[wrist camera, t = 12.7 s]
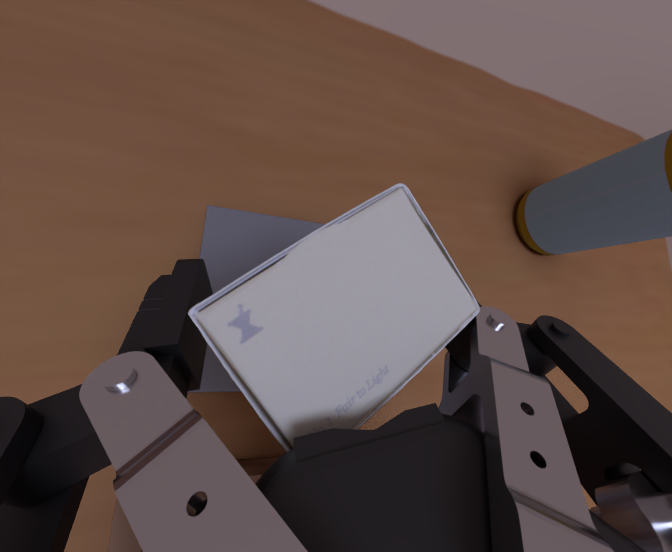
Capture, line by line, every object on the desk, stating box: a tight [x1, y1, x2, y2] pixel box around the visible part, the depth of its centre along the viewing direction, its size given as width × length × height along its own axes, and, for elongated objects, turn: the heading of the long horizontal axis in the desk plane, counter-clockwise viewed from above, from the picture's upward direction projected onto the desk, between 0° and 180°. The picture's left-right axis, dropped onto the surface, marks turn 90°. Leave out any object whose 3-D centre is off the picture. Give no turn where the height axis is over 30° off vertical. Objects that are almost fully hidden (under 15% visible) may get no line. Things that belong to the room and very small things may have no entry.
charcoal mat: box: [188, 205, 325, 392], centre depth 18 cm, size 13×12×1 cm
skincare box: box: [188, 183, 480, 452], centre depth 12 cm, size 6×4×12 cm
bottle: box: [516, 130, 672, 255], centre depth 18 cm, size 7×7×15 cm
